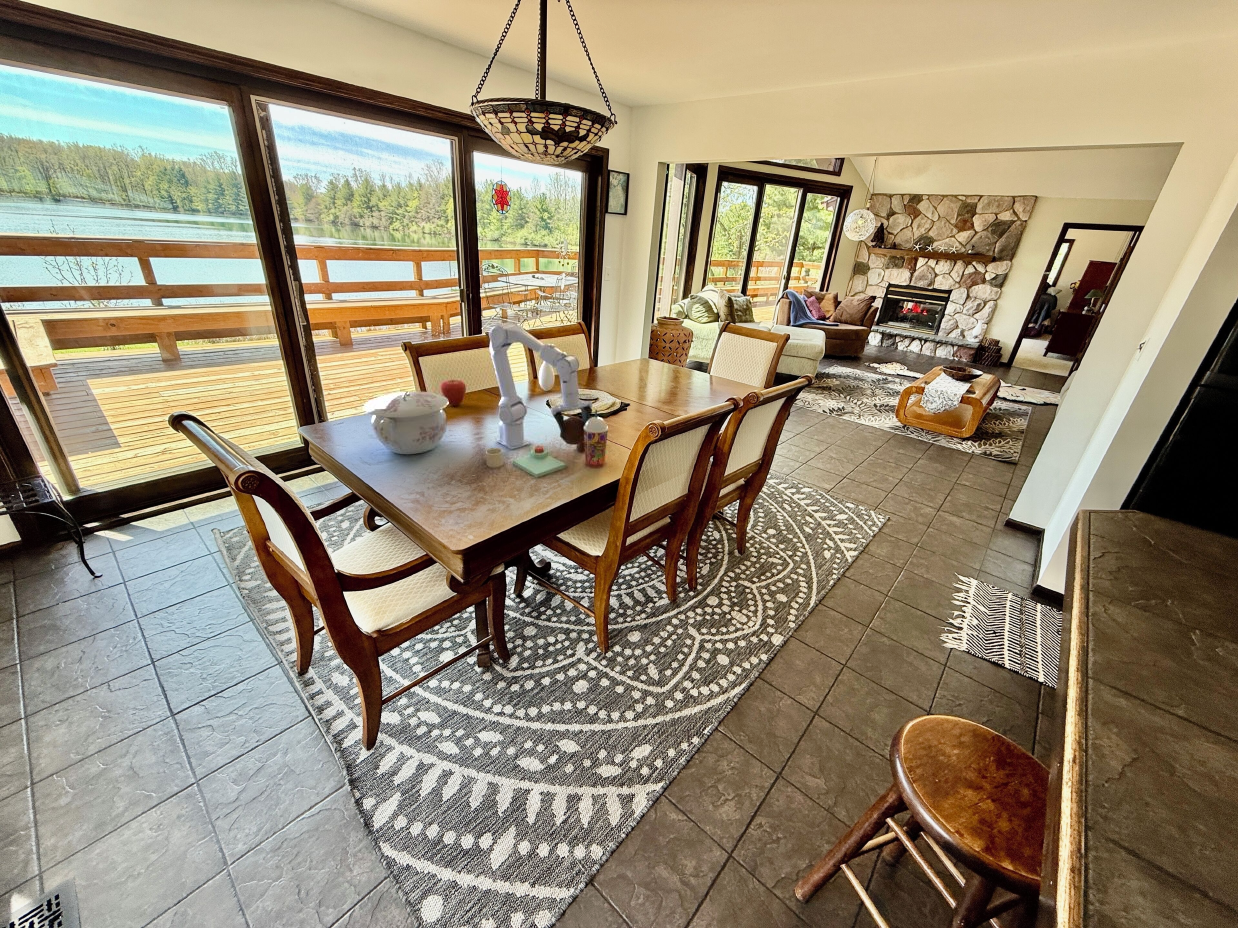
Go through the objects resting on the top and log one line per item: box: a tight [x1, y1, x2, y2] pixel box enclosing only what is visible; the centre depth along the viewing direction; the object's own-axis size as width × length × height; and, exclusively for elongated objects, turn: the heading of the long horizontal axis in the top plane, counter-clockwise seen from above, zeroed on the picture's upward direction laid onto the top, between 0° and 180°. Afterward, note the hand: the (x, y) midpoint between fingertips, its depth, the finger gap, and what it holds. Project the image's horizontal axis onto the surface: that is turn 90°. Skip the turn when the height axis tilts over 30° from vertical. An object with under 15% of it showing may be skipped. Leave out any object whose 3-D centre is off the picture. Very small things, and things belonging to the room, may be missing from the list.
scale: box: [512, 447, 566, 479], centre depth 165 cm, size 14×12×3 cm
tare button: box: [534, 445, 544, 453], centre depth 169 cm, size 3×3×2 cm
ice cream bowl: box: [559, 416, 585, 453], centre depth 173 cm, size 11×11×15 cm
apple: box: [439, 379, 467, 407], centre depth 215 cm, size 11×11×12 cm
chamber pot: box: [363, 390, 449, 455], centre depth 170 cm, size 28×28×21 cm
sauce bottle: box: [538, 360, 556, 392], centre depth 240 cm, size 8×8×18 cm
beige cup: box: [485, 447, 504, 469], centre depth 163 cm, size 6×6×5 cm
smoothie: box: [584, 409, 609, 468], centre depth 164 cm, size 8×8×20 cm
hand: (574, 430), depth 168 cm, fingers open, 7 cm apart
